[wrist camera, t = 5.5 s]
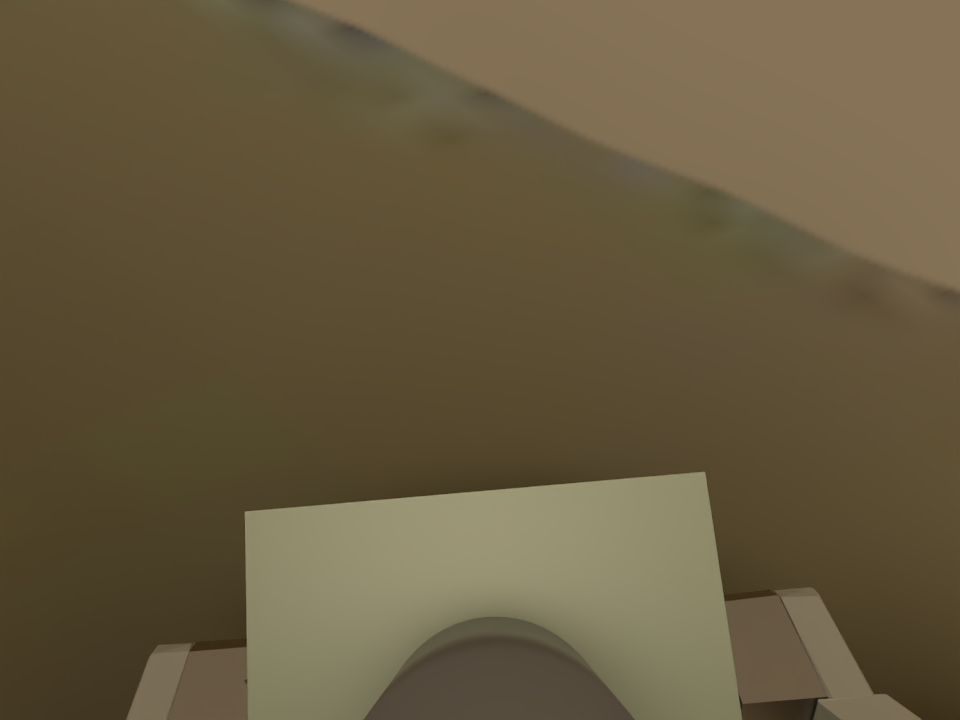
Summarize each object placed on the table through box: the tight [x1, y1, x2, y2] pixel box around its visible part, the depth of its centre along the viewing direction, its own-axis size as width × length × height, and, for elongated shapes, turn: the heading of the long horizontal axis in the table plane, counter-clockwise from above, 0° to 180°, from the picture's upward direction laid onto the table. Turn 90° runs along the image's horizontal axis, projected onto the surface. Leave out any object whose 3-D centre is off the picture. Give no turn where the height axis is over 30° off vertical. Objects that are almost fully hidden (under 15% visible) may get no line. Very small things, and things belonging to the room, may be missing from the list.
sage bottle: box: [245, 472, 742, 720], centre depth 10 cm, size 5×5×11 cm
